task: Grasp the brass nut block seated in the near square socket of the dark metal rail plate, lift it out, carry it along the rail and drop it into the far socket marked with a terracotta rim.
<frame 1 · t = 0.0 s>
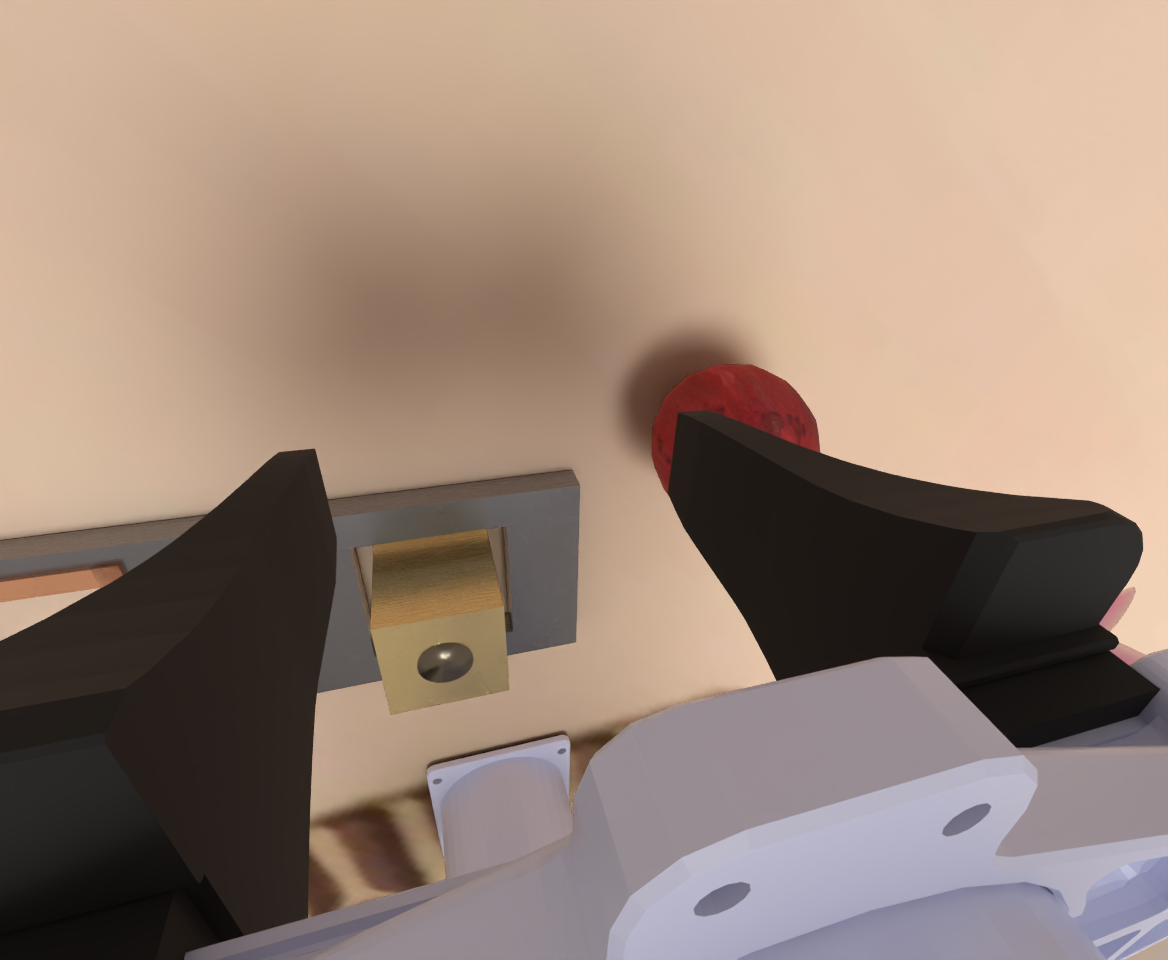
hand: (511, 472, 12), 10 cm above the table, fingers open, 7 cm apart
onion: (687, 401, 24), on the table
nut: (436, 573, 25), resting in rail
lily: (973, 603, 39), on the table
rail: (259, 603, 24), on the table
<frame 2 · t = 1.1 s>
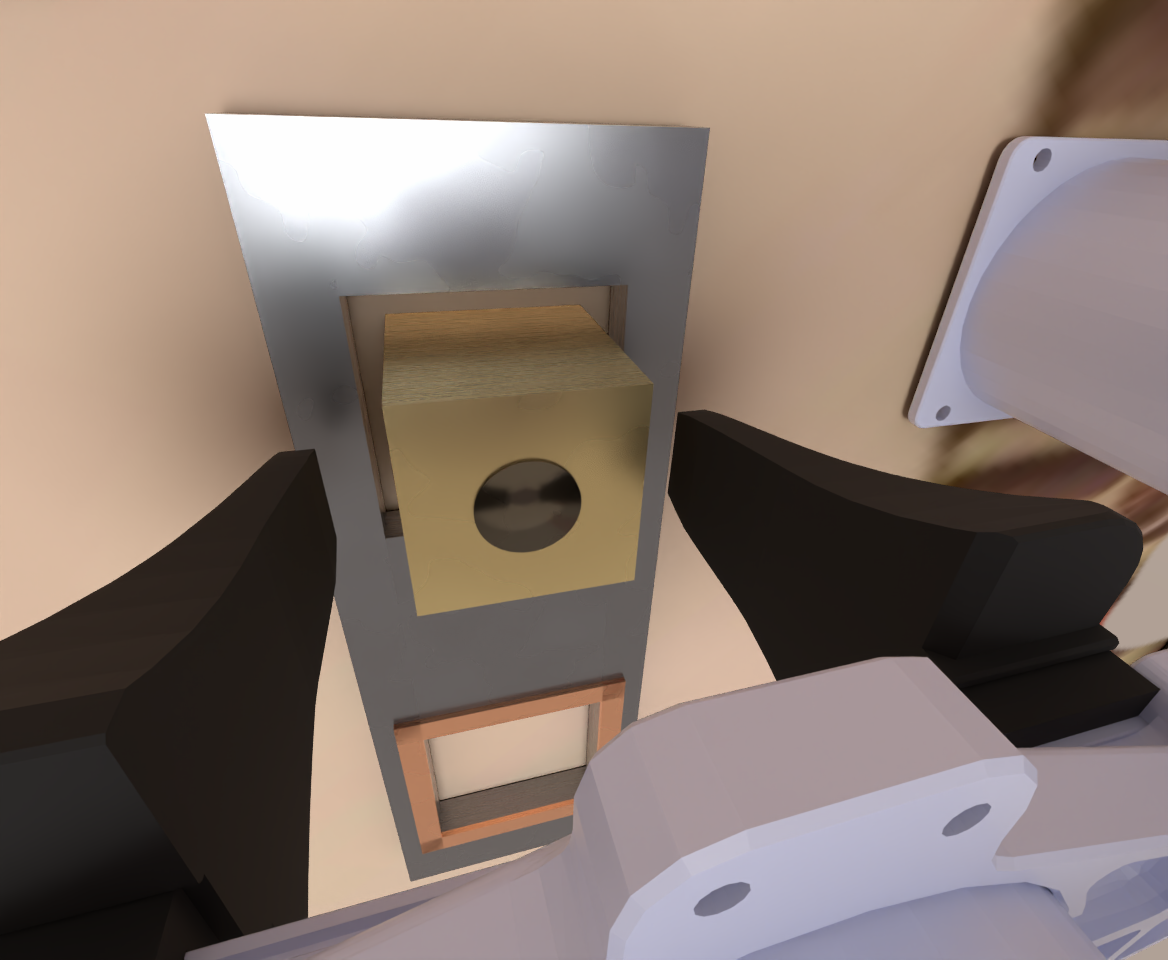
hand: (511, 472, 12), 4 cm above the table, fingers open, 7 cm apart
nut: (491, 397, 15), resting in rail
rail: (504, 602, 19), on the table
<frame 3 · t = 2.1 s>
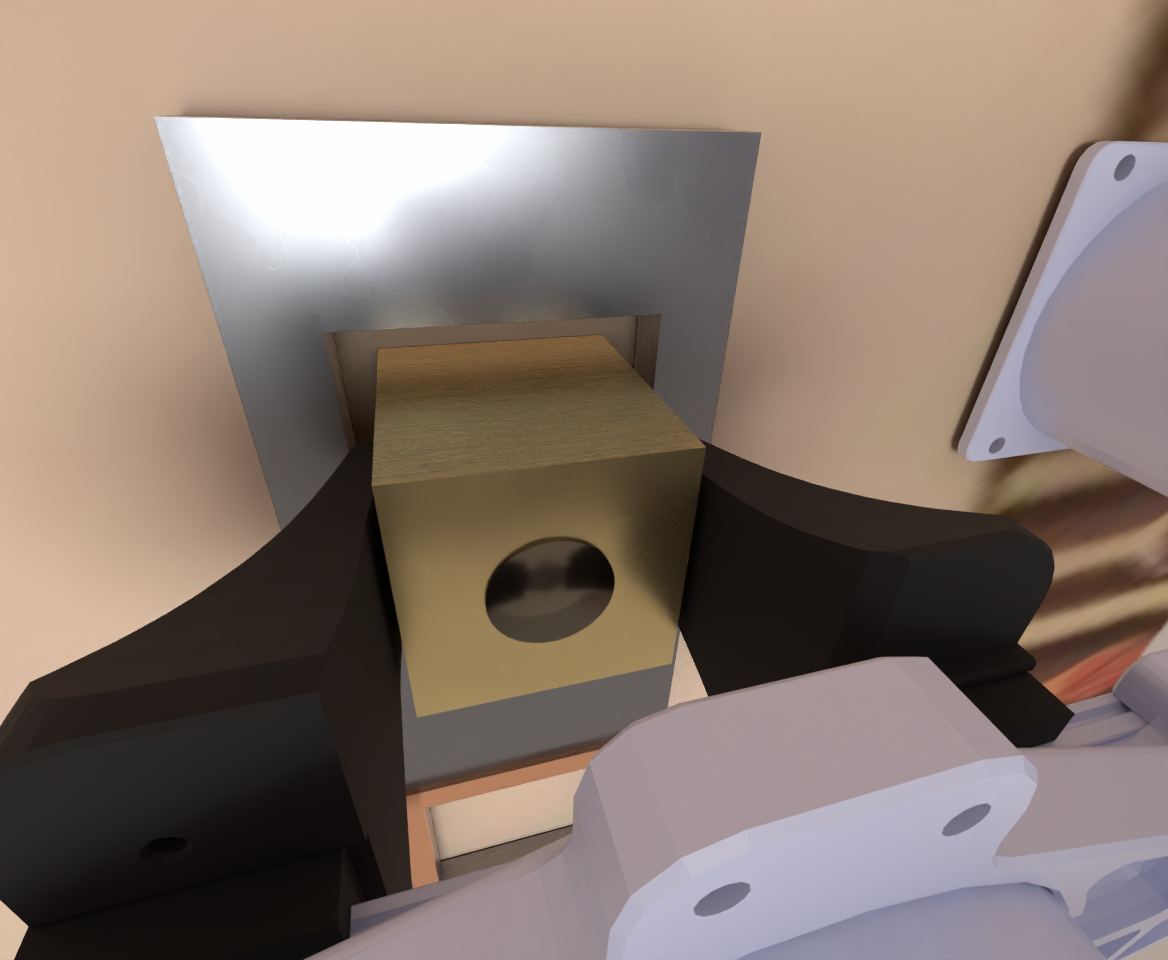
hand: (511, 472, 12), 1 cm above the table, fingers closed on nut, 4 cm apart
nut: (500, 440, 13), resting in rail, touching gripper
rail: (512, 657, 17), on the table
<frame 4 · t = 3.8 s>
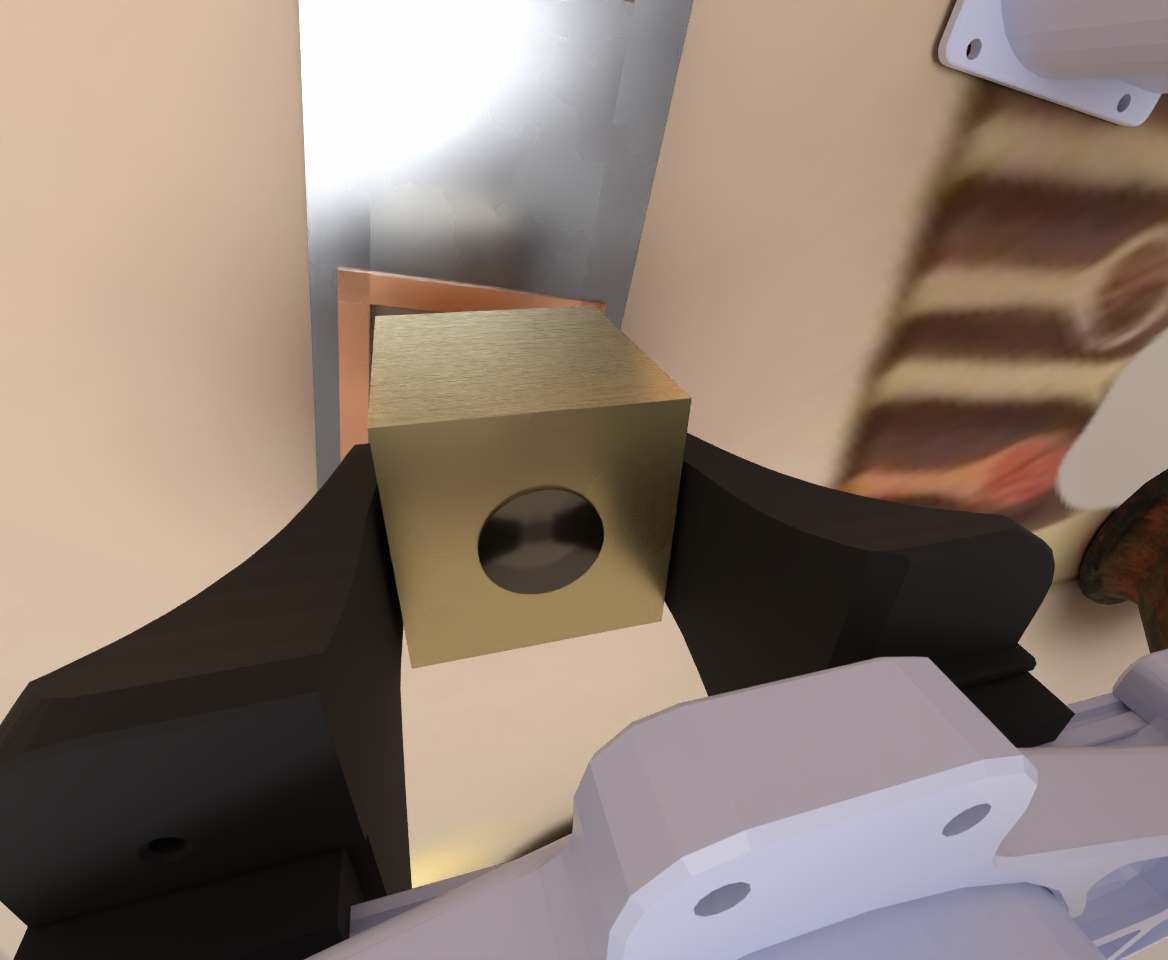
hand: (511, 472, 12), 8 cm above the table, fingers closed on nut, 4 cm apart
nut: (495, 410, 13), point 6 cm above the table, touching gripper
pitcher: (1160, 501, 35), on the table
rail: (487, 158, 16), on the table
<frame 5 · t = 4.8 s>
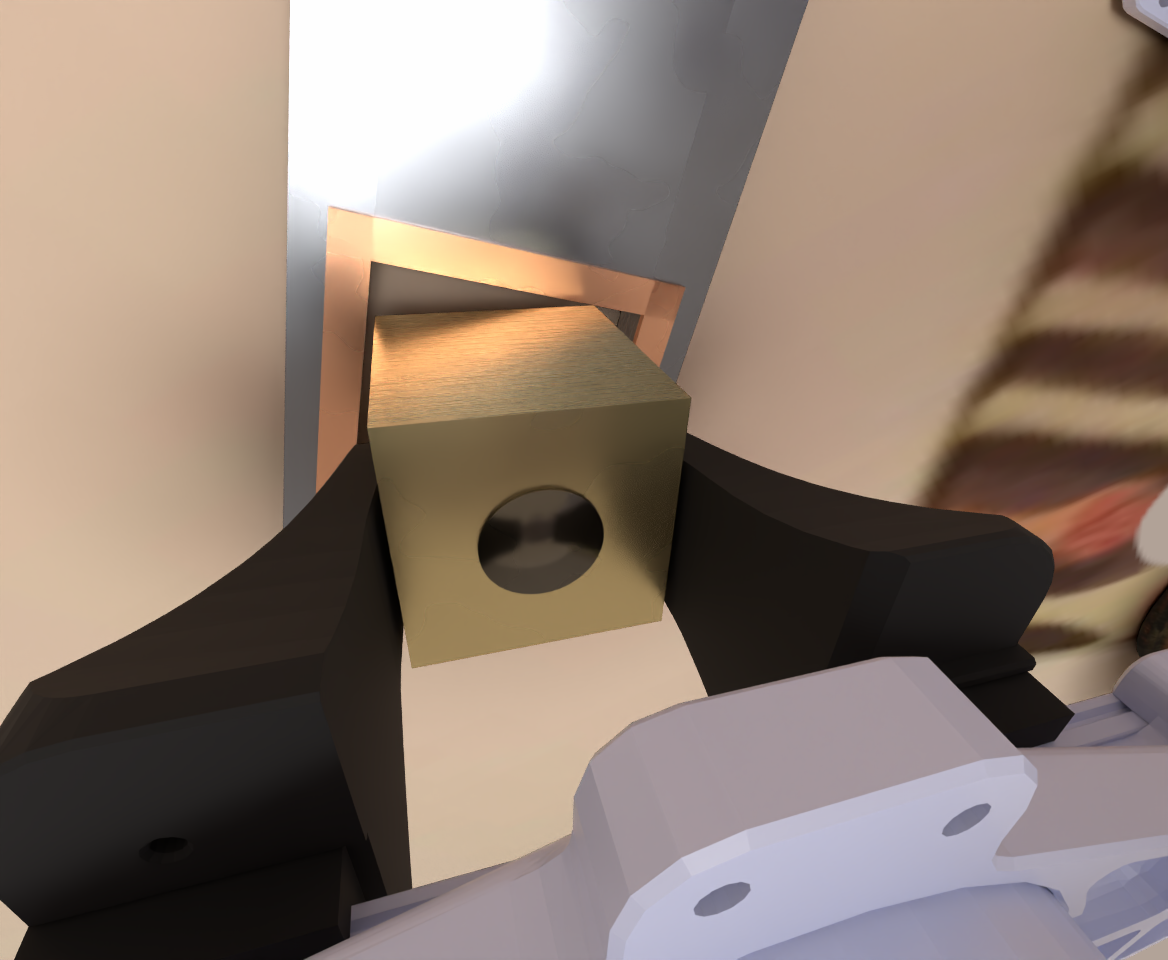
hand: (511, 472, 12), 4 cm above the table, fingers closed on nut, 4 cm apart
nut: (495, 410, 13), point 2 cm above the table, touching gripper
rail: (545, 74, 12), on the table
when the fingers open (3 cm above the table, at t = 5.5 s): nut stays where it is, resting on rail.
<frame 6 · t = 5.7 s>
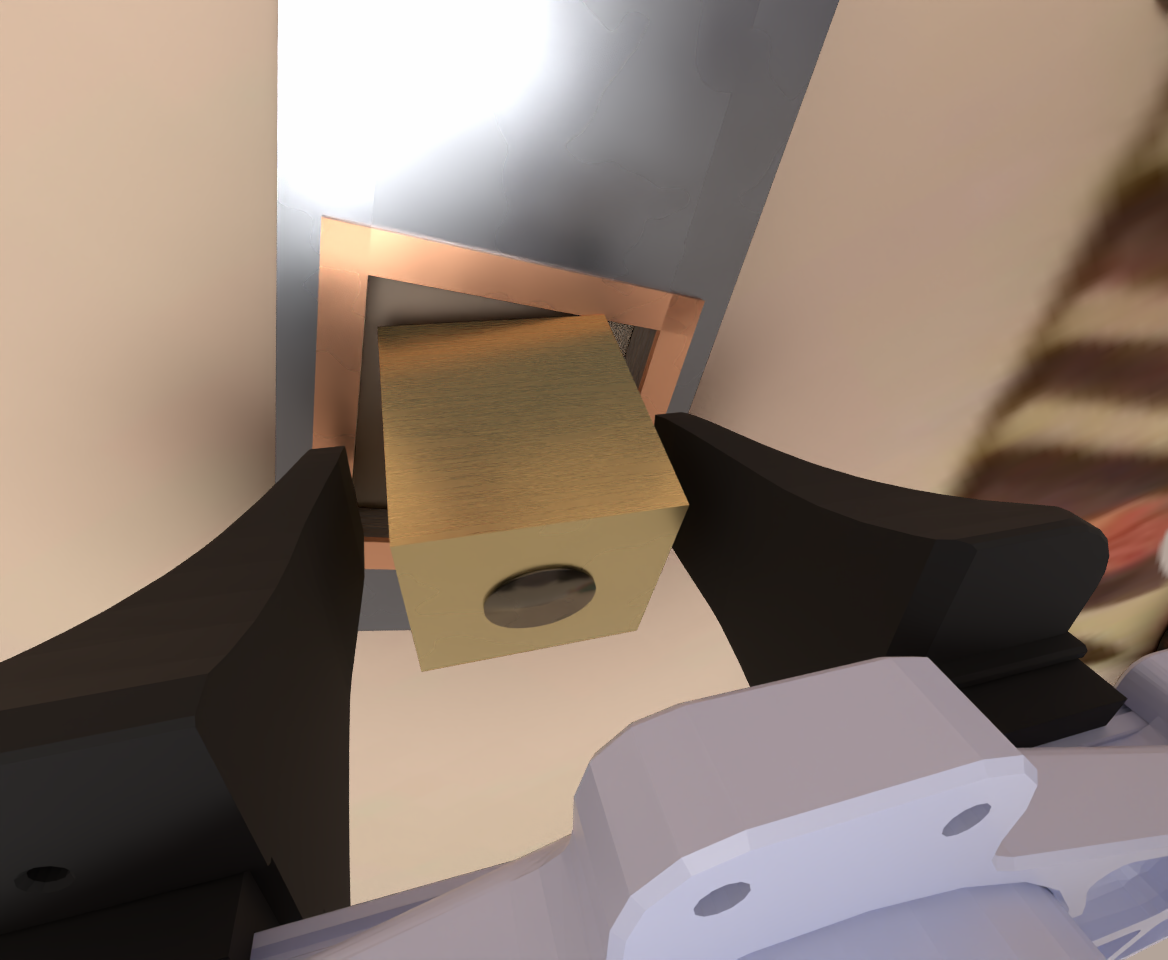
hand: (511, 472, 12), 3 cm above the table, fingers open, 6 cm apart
nut: (496, 403, 13), point 1 cm above the table, tilted 19°, touching rail
rail: (557, 73, 11), on the table
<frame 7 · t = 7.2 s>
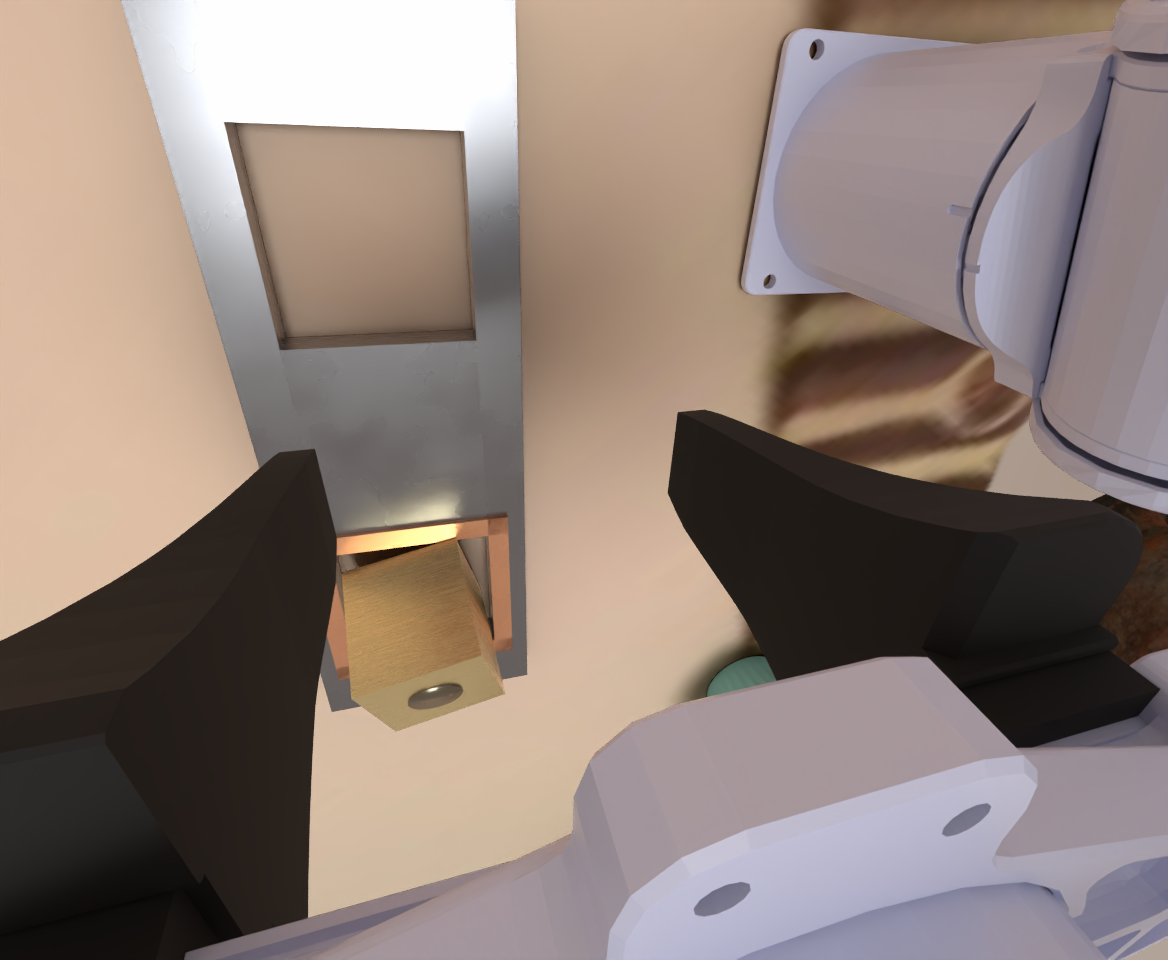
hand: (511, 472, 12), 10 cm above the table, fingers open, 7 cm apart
nut: (416, 581, 25), point 1 cm above the table, tilted 19°, touching rail
pitcher: (1092, 528, 38), on the table
cupcake: (737, 680, 37), on the table
rail: (397, 438, 22), on the table
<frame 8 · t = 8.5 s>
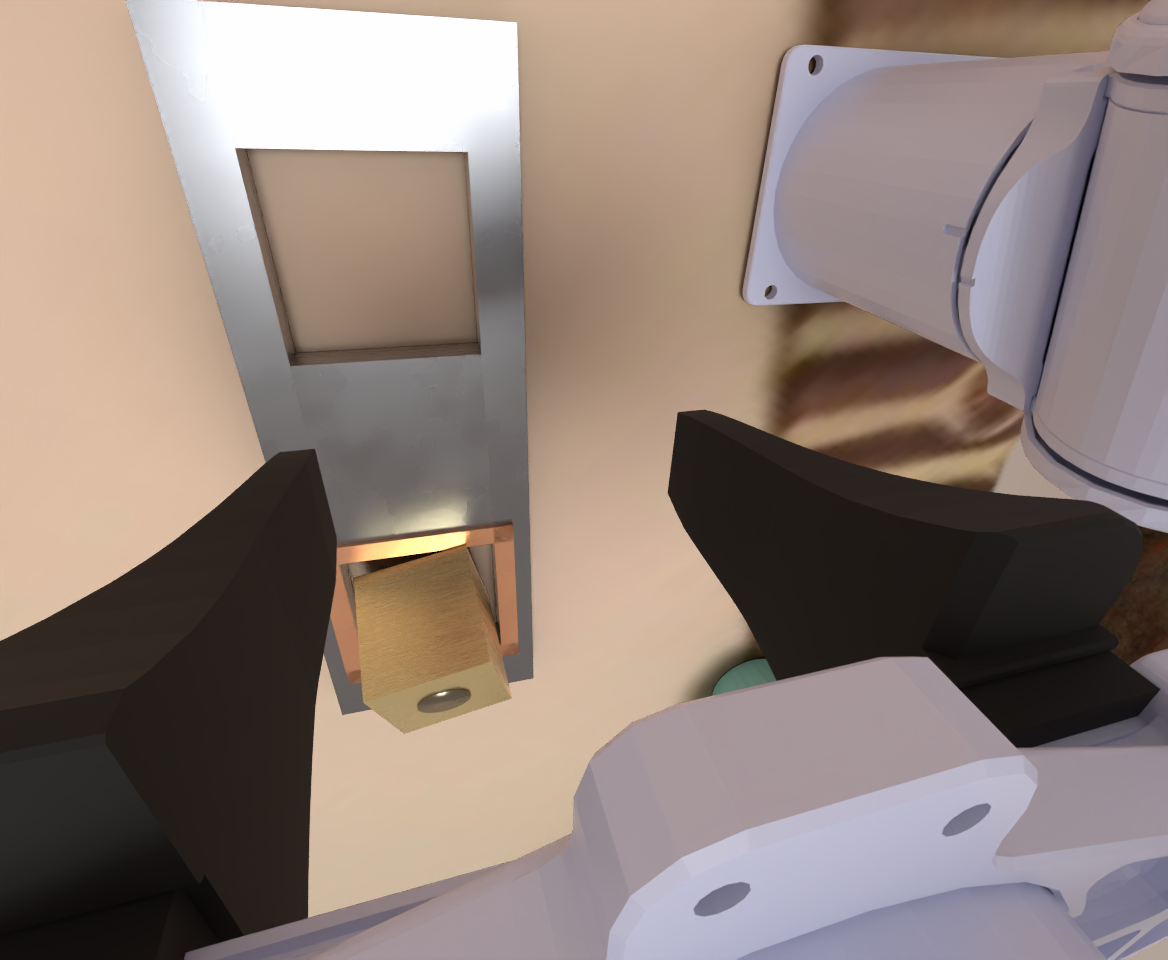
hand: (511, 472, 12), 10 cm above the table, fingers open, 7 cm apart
nut: (426, 586, 25), point 1 cm above the table, tilted 19°
pitcher: (1098, 530, 38), on the table
cupcake: (742, 682, 37), on the table
rail: (405, 448, 22), on the table
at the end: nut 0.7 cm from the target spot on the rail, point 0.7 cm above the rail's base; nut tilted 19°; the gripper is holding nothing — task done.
